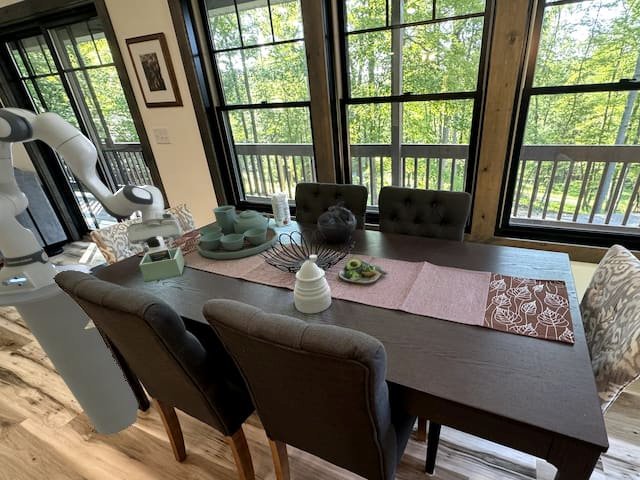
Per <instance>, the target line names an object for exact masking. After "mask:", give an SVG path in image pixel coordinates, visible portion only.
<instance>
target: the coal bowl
mask: <svg viewBox="0 0 640 480" xmlns="http://www.w3.org/2000/svg"><path fill="white" fill-rule="evenodd" d="M344 204H345V201H340V202H339V203H337V204H335V205H331V206H328V208H327V209H328V211H324V212H323V213H322V214H321V215H319V216H318V219H317V228H318V230H319V232H320V233H321V235H322V236H323V237H324V238H325V239H328V240H329V241H334V242H341V241H345V240H347V239H348V238H350V237H351V236H352V235H353V233H354V232H355V230H356V227H357V219H356V218H355V214H354V213H353V212H351V210H350V209H347V208H346V207H344Z"/></svg>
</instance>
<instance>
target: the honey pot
mask: <svg viewBox="0 0 640 480" xmlns="http://www.w3.org/2000/svg"><path fill="white" fill-rule="evenodd" d="M317 260H318V255H317V254H310V255H309V260H306V261H304V262H303V263H302V264H301V266H300V268H299V270H298V271H297V272H296V274H295V279H296V281H295V284H294V290H293V299H294V306H295V308H296V310H297V311H299V312H301V313H304V314H317V313H320V312H323V311H325V310H327V309H328V308H329V307H330V306H331V304H332V294H331V287H330V286H329V284H328V281H327V278H326V277H325V275H326V272H325V271H324V269H322V267H321V268H320V267H319V266H318V265H317V264H316V263H315V262H317Z"/></svg>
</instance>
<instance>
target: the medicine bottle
mask: <svg viewBox="0 0 640 480" xmlns="http://www.w3.org/2000/svg"><path fill="white" fill-rule="evenodd" d="M146 242H147V243H146V244H147V247H148V251H147V252H149V256H150V258H151V261H152V262H156V261H162V260H168V259H172V258H171V255H170V253H169V250H168V249H169V248H167V244H166V243H165V240H163V238H162V237H160V236H154V237H150V238H148V239H147V240H146Z"/></svg>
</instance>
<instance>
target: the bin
mask: <svg viewBox="0 0 640 480" xmlns="http://www.w3.org/2000/svg"><path fill="white" fill-rule="evenodd" d="M168 250H169V253H170V255H171V258H172V259H168V260H162V261H156V262H152V261H151V258H150V256H149V252H148V251H147V252H145V254H144V256H143V257H142V259H141V260H140V262H139V264H138V266H139V268H140V271H141V273H142V277H143V278H144V281H145V282H150V281H156V280H161V279H166V278H172V277H179V276H182V274H183V271H184V267H185V264H186V262H185V258H184V255H183V253H182V249H181V247H179V246H178V247H174V248H173V247H172V248H168Z"/></svg>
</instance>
